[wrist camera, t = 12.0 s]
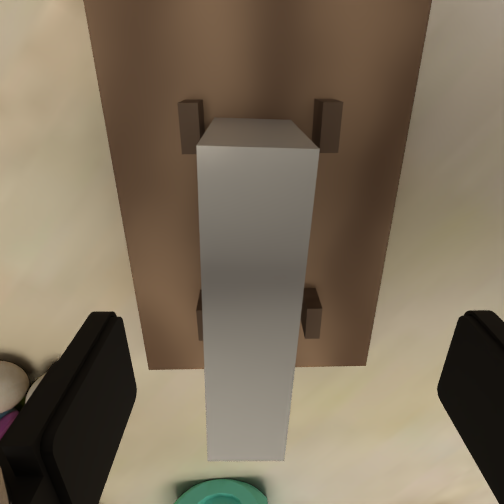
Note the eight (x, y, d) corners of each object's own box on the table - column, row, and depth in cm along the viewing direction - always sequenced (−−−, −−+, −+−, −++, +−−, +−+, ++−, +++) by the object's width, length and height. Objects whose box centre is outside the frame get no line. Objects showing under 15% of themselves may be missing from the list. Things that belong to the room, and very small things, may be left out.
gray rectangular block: (290, 119, 17) (319, 149, 10) (273, 354, 23) (284, 460, 17) (214, 117, 16) (196, 145, 10) (217, 353, 23) (207, 461, 16)
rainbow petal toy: (113, 441, 29) (75, 549, 22) (-15, 430, 28) (-94, 539, 21) (113, 361, 25) (66, 463, 18) (-36, 345, 24) (-139, 446, 18)
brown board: (417, -4, 16) (460, -22, 13) (359, 349, 25) (375, 390, 22) (95, -3, 16) (58, -22, 12) (154, 353, 24) (141, 394, 21)
